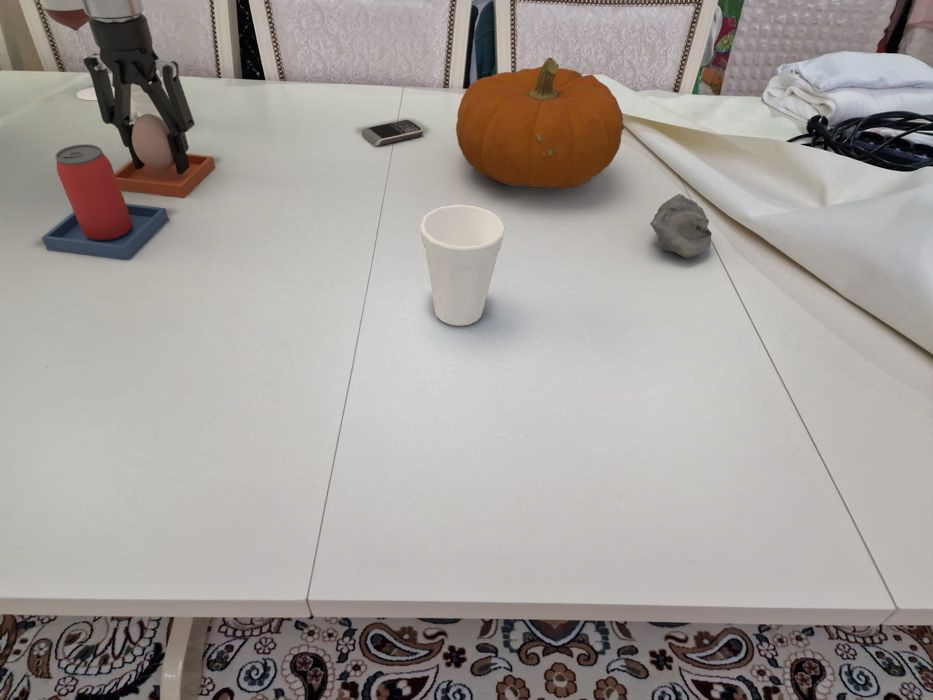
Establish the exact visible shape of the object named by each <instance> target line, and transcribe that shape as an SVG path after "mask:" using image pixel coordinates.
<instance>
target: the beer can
mask: <svg viewBox="0 0 933 700" xmlns="http://www.w3.org/2000/svg"><path fill="white" fill-rule="evenodd" d="M54 157H55V160H56V172H57V176H58V179H59V181H60V182H61V185H62V187H63V190H64V192H65V194H66V197H67V199H68V201H69V204H70V206H71V209H72V211H73V212H74V213H75V215H76V218H77V220H78V222H79V225H80V227H81V229H82V232H83V234H84V235H85V236H86V237H88V238H89V239H92V240H95V241H110V240H114V239H117V238H120V237H122V236H124V235H125V234H127V233H128V232H129V231H130V230H131V228H132V224H133V223H132V220H131V218H130V215H129V212H128V209H127V207H126V204H127V203H126V201H125V199H124V195H123V192H122V190H120V187H119V185H118V182H117V179H116V176H115V170H114V168H113V166H112V163H111V161H110V160H109V158H108V157H107V156H106V154H104V152H103V150H102V148H101V147H100V146H98V145H95V144H89V143H88V144H87V143H86V144H85V143H83V144H75V145H74V144H73V145H70V146H66V147H64V148H62V149H60V150H59V151H57V152H56V154H55V156H54ZM125 203H126V204H125Z"/></svg>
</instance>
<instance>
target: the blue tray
mask: <svg viewBox="0 0 933 700" xmlns="http://www.w3.org/2000/svg"><path fill="white" fill-rule="evenodd" d="M125 204H126V207H127V209H128V212H129V215H130V218H131V220H132V223H133V224H132V228H131V230H130V231H129V232H128V233H127V234H125V235H124V236H122V237H120V238H117V239H114V240H110V241H95V240H92V239H89V238H88V237H86V236H85V235H84V234H83V232H82V229H81V227H80V225H79V222H78V220H77V218H76V215H75V213H74V211H73V212H72V213H70V214H69V215H67V216H66V217H65V218H64V219H62V221H60V222H59V223H57V224H56V225H55V226H54V227H53V228H52V229H50V230H49V231H48V232H46V233H45V234H44V235H43V236H42V237H41V240H42V243H44V246H45V248H46V250H48V251H55V252H63V253H70V254H79V255H85V256H86V255H87V256H96V257H103V258H111V259H118V260H119V259H120V260H127V261H130V260H131V259H132V257H134V256H135V255H136V254H137V252H139V250H141V248H143V247H144V245H145V244H147V243H148V242H149V241H150V240H151V239H152V238H153V236H155V235H156V234H157V233H158V231H159V230H160V229H161V228H163V227H164V226H165V225H166V224H167V222H168V221H169V220H170V218H169V215H168V212H167V208H166V207H158V206H151V205H142V204H133V203H126V202H125Z"/></svg>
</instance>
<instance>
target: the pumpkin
mask: <svg viewBox="0 0 933 700" xmlns="http://www.w3.org/2000/svg"><path fill="white" fill-rule="evenodd" d="M456 118H457V121H456V125H455V131H456V139H457V143H458V145H459V148H460V151H461V154H462V155H463V157H464V159H465V160H466V162H468V164H469V165H470V166H471V167H473V169H475V171H476V172H478V173H479V174H480V175H481V176H483V177H485V178H488V179H491V180H494V181H497V182H499V183H502V184H503V185H509V186H517V187H525V186H529V187H533V188H545V189H552V188H553V189H554V188H557V189H572V188H575V187H579V186H583V185H584V184H586V183H588V182H590V181H591V180H592V179H594V177H595V178H596V176H597V175H599V174H600V173H602V172H603V171H604V170H605V169H606V168H607V167H609V165H611V163H612V161H613V160H614V158H615V157H616V156H617V154H618V151H619V149H620V147H621V143H622V135H623V131H624V130H625V125H624V117H623V112H622V110H621V108H620V105H619V103H618V100H617V97H616V96H615V95H614V94H613V93H612V91H611V90H610V88H609V87H608V86H607V85H606V84H604V83H603V82H601V81H600V80H599V79H598V78H597V77H595V76H594V75H593V74H586V75H582V74H581V72H578V71H577V70H573V69H568V68H564V67H563V68H561V67H560V65H559V63H557V62H556V60H555V59H554V58H553V57H548V58H547V59H545V61H544V63H543V64H542V66H538V67H534V68H522V69H520V70H517V71H516V72H512V71H506V72H505V71H503V72H498V73H496V74H493V75H491V76H485V77H481V78H478V79H477V80H476V81H474V82H472V83H471V84H470V85H469V86H468V88H467V89H466V90H465V92H464V93H463V96H462V98H461V100H460V103H459V107H458V110H457V117H456Z"/></svg>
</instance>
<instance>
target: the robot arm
mask: <svg viewBox="0 0 933 700" xmlns="http://www.w3.org/2000/svg"><path fill="white" fill-rule="evenodd" d="M81 2H82V5H83V8H84V11H85V13H86V14H87V15H88V16H90V19H89V21H88V22H87V23H88V25H89V28H90V31H91V34H92V37H93V40H94V43H95V45H96V46H97V47H98V48H99V54H98V53H92V54H90V55H88V57H87V58H85V59H84V58H83V61H82V62H83V64H84V66H85V68H86V69H87V72H88V71H89V72H88V74H89V73H90V74H91V78H92V81H91V83H92V82H93V83H92V86H93V85H94V86H93V87H94V89H95V93H96V97H97V100H96V101H97V103H98V108H99V111H100V115H101V119H102V121H103V123H104V124H106V125H113V126H115V128H116V129H117V130H118V133H119V136H120V138H121V141H122V145H123V146H124V147H125V148H128V152H129V154H130V157H131V160H133V163H134V166H135V169H141V168H142V167H143V166H144V165H145V164H144V163H143V162H142V161H141V160H140V159H139V158H138V156H137V155H136V153H135V150H134V147H133V144H132V131H133V127H134V124H135V123H132V122H133V121H134V119H132V118H131V117H132V116H131V115H132V113H131V108H132V98H131V85H132V84H135V85H138V86H141V88H142V90H143V91H144V92H145V93H147V94H148V96H149V97H150V99H151V101H152V102H153V104H154V106H155V107H156V109H157V110H158V112H159V114H160V115H161V117H162V119H163V120H164V122H165V124H166V125H167V127H168V129H169V130H170V133H169V134H167V138H168V142H169V145H170V149H171V152H172V156H173V159H174V163H175V166H176V170H177V173H178V174H183V173H184V172H185V171H186V170H187V169H188V168H189V167H190V166H189V162H188V158H187V155H186V154H187V152H188V151H189V148H190V147H189V143H188V139H187V136H186V133H187V132H189V131H190V130H191V129H192V128H193V127H194V126H195V124H196V123H195V119H194V118H193V114H192V111H191V109H190V106H189V102H188V100H187V97H186V94H185V92H184V88H183V85H182V83H181V80H180V72H179V64H178V62H177V61H175V60H172V61H170V62H169V61H165V60H162V59H160V58H159V56H158V54H157V53H156V52H155V49H154V47H153V37H152V33H151V29H150V25H149V23H148V19H147V16H145V14H143V13H144V6H143V5H144V4H143V2H142V0H81ZM141 13H142V14H141ZM108 69H109V71H110V72H111V73H112V74H111V77H112V82H111V79H110V75H109V71H108ZM157 69H158V70H159V71H160V76H161V77H162V78H163V82H164V86H165V88H166V91H167V94H168V96H167V94H166V93H165V91H164V89H163V87H162V82H161V80H160V78H159V77H158V75H157V73H156V70H157ZM91 78H90V79H91ZM149 82H151V83H150V84H149ZM112 87H114V95H113V91H112ZM168 97H169V98H168ZM130 123H131V124H130Z"/></svg>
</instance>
